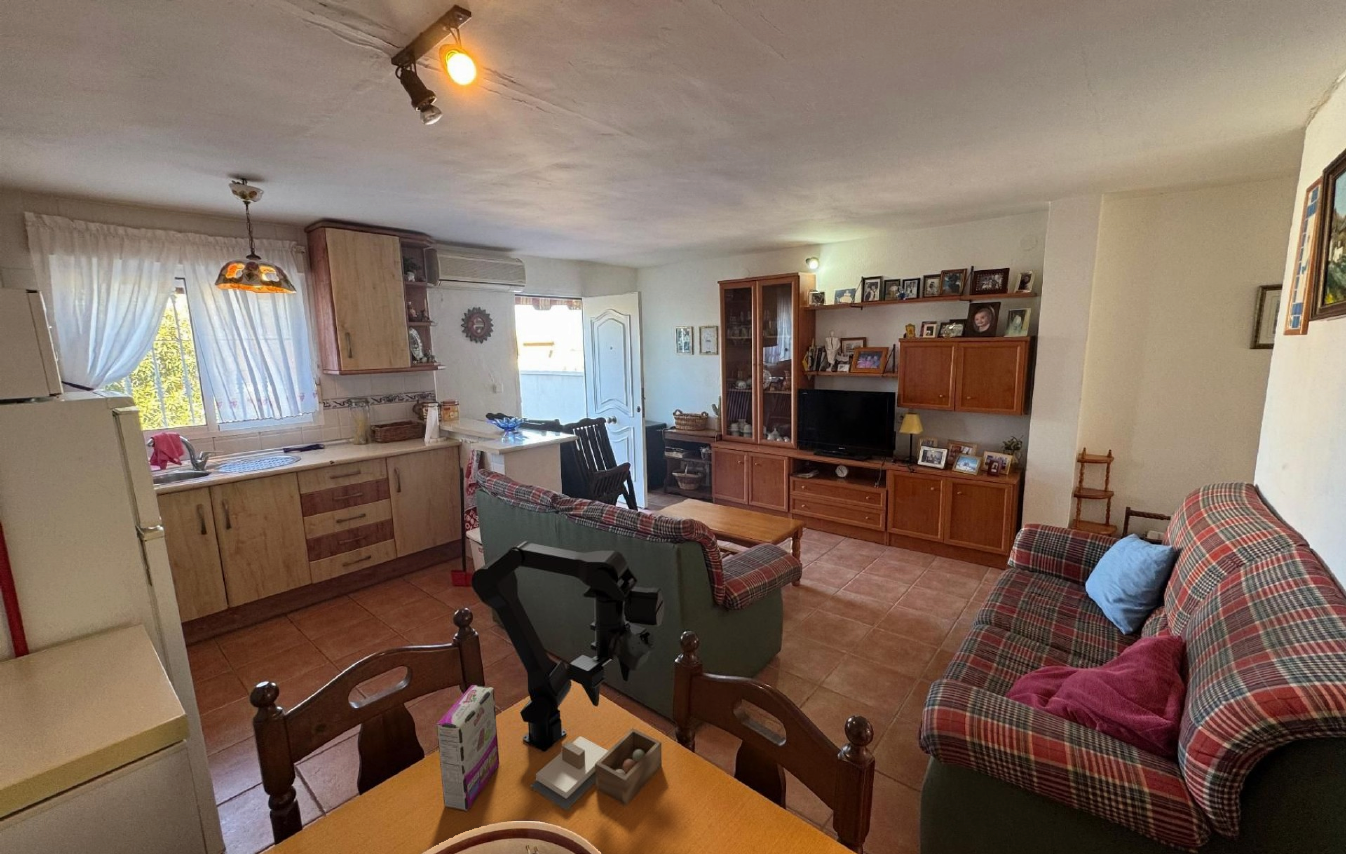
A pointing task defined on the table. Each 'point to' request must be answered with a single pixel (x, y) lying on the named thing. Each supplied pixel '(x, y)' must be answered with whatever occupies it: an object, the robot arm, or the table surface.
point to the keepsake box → (628, 766)
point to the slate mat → (560, 799)
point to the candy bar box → (468, 746)
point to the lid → (571, 766)
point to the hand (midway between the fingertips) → (611, 692)
